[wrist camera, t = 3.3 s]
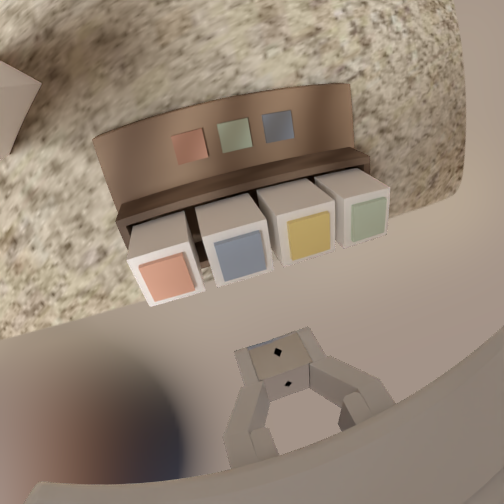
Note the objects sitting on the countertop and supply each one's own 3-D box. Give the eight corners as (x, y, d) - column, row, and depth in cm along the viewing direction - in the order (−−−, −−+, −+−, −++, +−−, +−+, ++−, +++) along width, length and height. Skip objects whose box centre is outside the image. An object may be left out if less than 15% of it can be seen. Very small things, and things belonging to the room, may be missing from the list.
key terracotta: (184, 210, 18) (188, 244, 14) (198, 255, 19) (206, 294, 16) (132, 226, 17) (126, 263, 14) (150, 269, 19) (150, 310, 16)
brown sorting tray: (339, 83, 19) (371, 86, 16) (346, 206, 25) (372, 228, 22) (97, 135, 17) (80, 148, 13) (145, 263, 23) (143, 296, 20)
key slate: (247, 192, 18) (268, 221, 15) (256, 238, 20) (276, 273, 17) (194, 207, 18) (202, 240, 14) (207, 252, 20) (218, 291, 16)
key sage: (356, 167, 19) (393, 189, 16) (357, 210, 21) (389, 236, 18) (314, 176, 19) (346, 201, 15) (317, 221, 21) (346, 251, 17)
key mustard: (305, 178, 18) (337, 202, 15) (309, 222, 20) (337, 253, 17) (256, 190, 18) (278, 218, 15) (263, 235, 20) (284, 270, 17)
